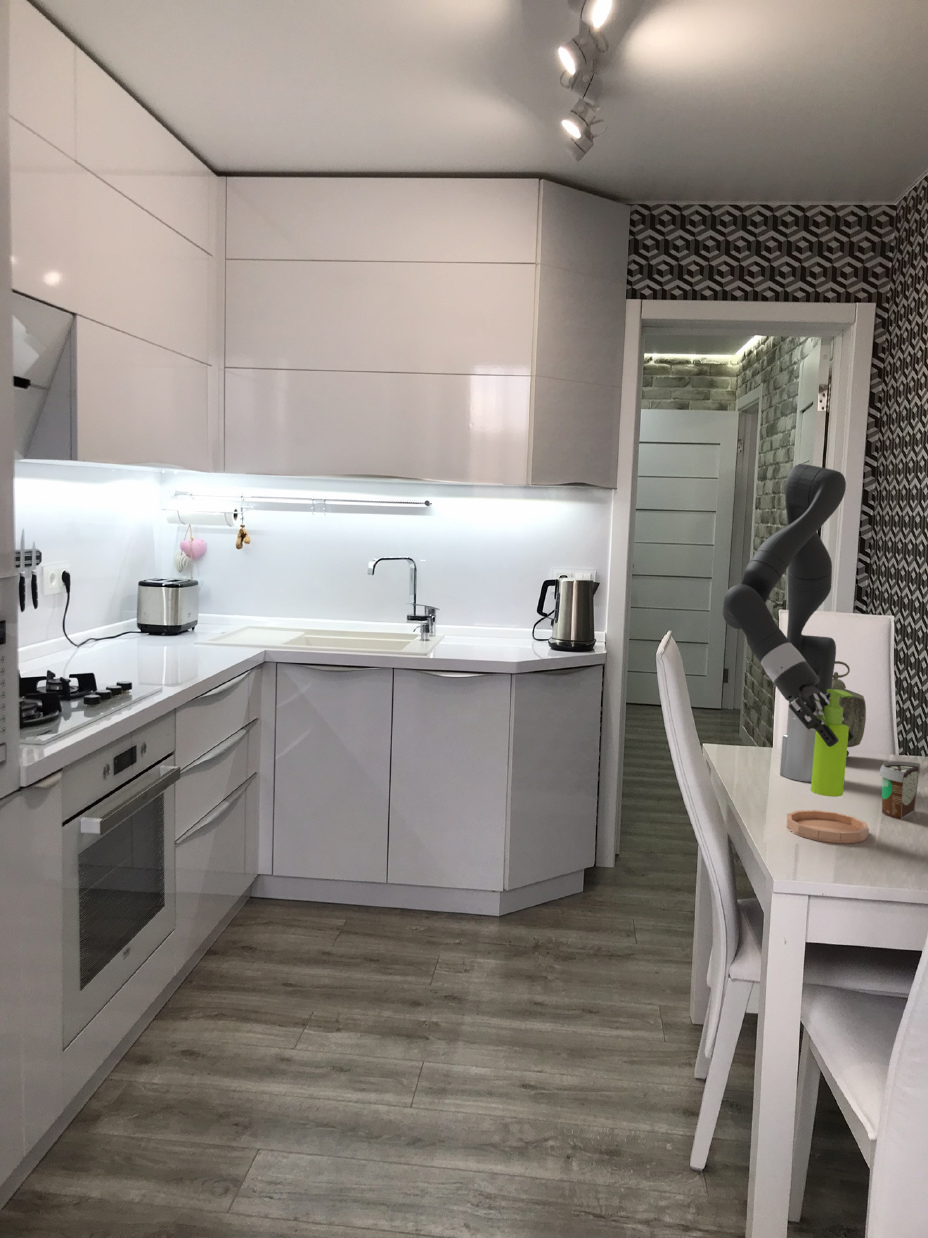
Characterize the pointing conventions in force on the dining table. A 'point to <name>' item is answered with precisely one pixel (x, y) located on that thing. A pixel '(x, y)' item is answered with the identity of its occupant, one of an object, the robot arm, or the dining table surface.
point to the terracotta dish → (827, 826)
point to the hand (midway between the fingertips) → (842, 741)
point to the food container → (899, 788)
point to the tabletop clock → (851, 709)
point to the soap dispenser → (831, 750)
